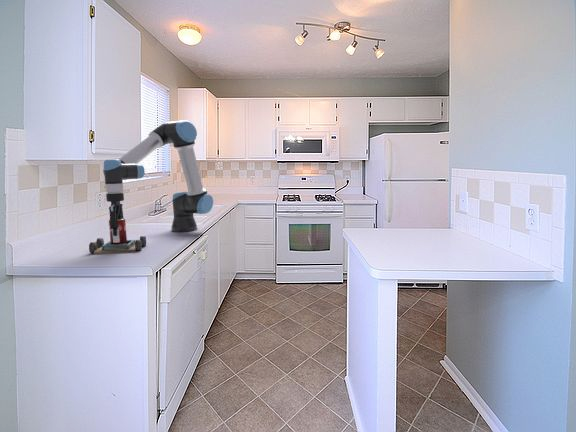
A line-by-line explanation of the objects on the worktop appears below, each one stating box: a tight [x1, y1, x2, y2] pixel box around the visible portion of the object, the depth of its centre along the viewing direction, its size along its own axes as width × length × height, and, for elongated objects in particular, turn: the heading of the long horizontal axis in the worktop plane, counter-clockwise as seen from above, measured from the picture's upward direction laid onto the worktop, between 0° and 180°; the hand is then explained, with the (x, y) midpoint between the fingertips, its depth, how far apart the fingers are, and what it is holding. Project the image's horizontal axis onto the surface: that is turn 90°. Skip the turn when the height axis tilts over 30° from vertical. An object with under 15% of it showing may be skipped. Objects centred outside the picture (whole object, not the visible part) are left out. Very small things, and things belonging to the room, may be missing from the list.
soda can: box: [108, 217, 128, 245], centre depth 186 cm, size 7×7×12 cm
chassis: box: [88, 235, 147, 255], centre depth 187 cm, size 16×22×5 cm
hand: (118, 240), depth 187 cm, fingers closed on soda can, 7 cm apart
